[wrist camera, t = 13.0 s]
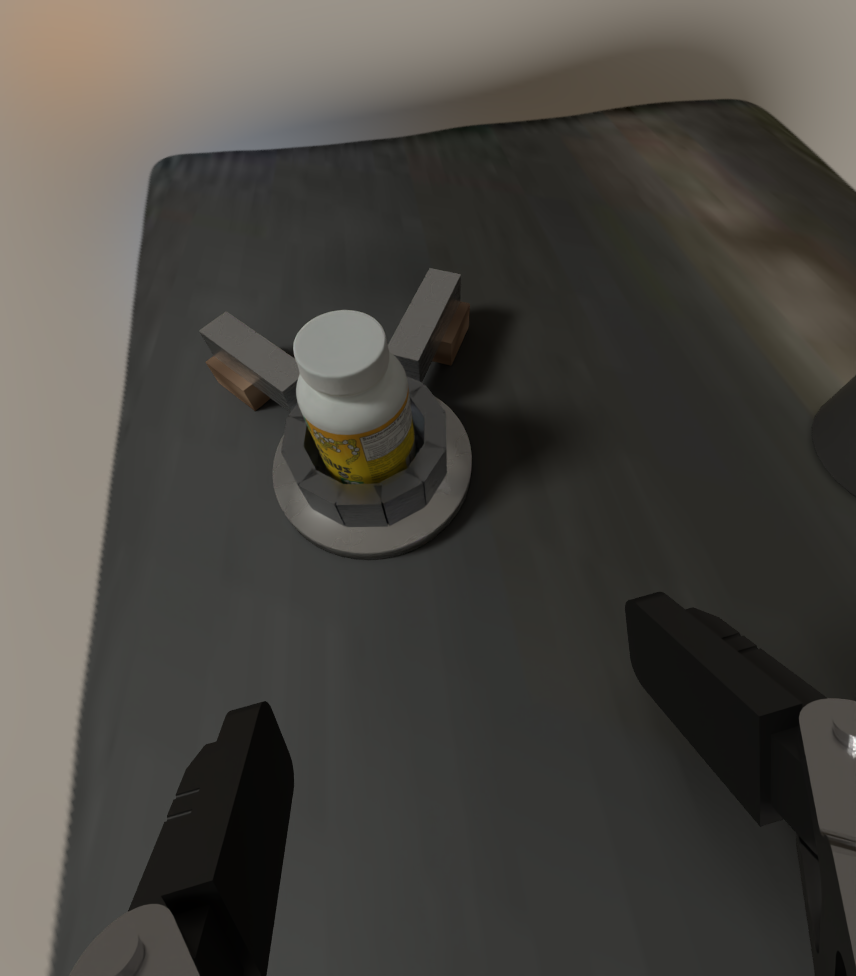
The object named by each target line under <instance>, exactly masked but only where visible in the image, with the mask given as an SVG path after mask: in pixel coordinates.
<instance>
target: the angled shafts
mask: <svg viewBox="0 0 856 976" xmlns="http://www.w3.org/2000/svg"><path fill="white" fill-rule="evenodd" d="M460 293H461V274H456V273H451V272H446V271H441V270H437V269H432V268H430V269H429V270H428V272H427V274H426V276H425V278H424V280H423V282H422V283H421V285H420V287H419V289H418V291H417V293H416V294H415V296H414V298H413V300H412V302H411V304H410V305H409V307H408V309H407V311H406V313H405V315H404V317H403V318H402V320H401V322H400V324H399V326H398V328H397V329H396V331H395V333H394V335H393V337H392V339H391V340H390V342H389V344H388V349H389V352H391V353H392V354H393V355H394V356H395V357H396V358H397V359H398V360H399V362H400V363H401V365H402V366H403V368H404V370H405V373H406V376H408V377H410V378H412V379H415V380H417V381H419V382H422V381H423V379H424V377H425V375H426V373H427V371H428V368H429V366H430V364H431V362H432V360H433V358H434V356H435V354H436V352H437V350H438V347H439V345H440V343H441V341H442V339H443V337H444V335H445V333H446V331H447V329H448V326H449V324H450V322H451V320H452V318H453V316H454V314H455V312H456V310H457V308H458V305H459V303H460ZM199 332H200V334H201V335H202V337H203V339H204V340H205V342H206V344H207V345H208V347H209V349H210V350H211V352H212V354H213V355H214V356H215V357H216V358H217V359H219V360H220V361H221V362H223V363H224V364H225V365H227V366H228V367H229V368H231V369H232V370H233V371H235V372H236V373H237V374H239V375H240V376H241V377H243V378H244V379H245V380H247V381H248V382H249V383H251V384H252V385H253V386H255V387H256V388H257V389H259V390H260V391H261V392H263V393H264V394H265V395H267V396H268V397H269V398H271V399H272V400H273V401H275V402H276V403H277V404H279V405H280V406H281V407H283V408H284V409H285V410H287V411H288V412H289V413H290V412H291V411H292V410H293V409H294V408H295V406H296V405H297V404H298V402H297V396H296V386H297V381H298V377H299V375H300V372H299V368H298V365H297V362H296V360H295V359H294V358H293V357H291V356H290V355H289V354H287V353H286V352H284V351H283V350H281V349H280V348H278V347H277V346H276V345H274V344H273V343H271V342H270V341H268V340H267V339H265V338H264V337H262V336H261V335H260V334H258V333H257V332H255V331H254V330H252V329H251V328H249V327H248V326H246V325H245V324H244V323H242V322H241V321H239V320H238V319H236V318H235V317H233V316H232V315H231V314H229V313H228V312H225V313H223V314H222V315H220V316H219V317H218V318H216V319H215V320H213V321H212V322H211V323H209V324H208V325H206V326H205V327H204V328H202V329H201V330H199Z"/></svg>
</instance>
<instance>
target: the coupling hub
mask: <svg viewBox="0 0 856 976" xmlns="http://www.w3.org/2000/svg"><path fill="white" fill-rule="evenodd" d="M406 377H407V382H408V388H409V396H410V404H411V412H412V420H413V428H414V435H415V444H416V456H415V458H414V459H413V461H412V462H411V464H410V465H409V466H408V468H407V469H405V470H403V471H401V472H399V473H397V474H395V475H393V476H391V477H389V478H387V479H385V480H383V481H381V482H380V483H378V484H342V483H340V482H338V481H336V480H334V479H332V478H331V477H330V475H329V473H328V471H327V468H326V466H325V464H324V462H323V459H322V457H321V455H320V453H319V450H318V448H317V446H316V444H315V441H314V439H313V437H312V435H311V433H310V431H309V428H308V426H307V424H306V421H305V419H304V417H303V415H302V412H301V410H300V408H299V405H298V404H297V405H296V406H295V408H294V409H293V410H292V411H291V412H290V413H289V414H288V417H287V420H286V426H285V431H284V435H283V437H282V438H281V441H280V443H279V445H278V448H277V450H276V454H275V458H274V464H273V484H274V489H275V494H276V497H277V499H278V502H279V504H280V506H281V508H282V510H283V511H284V513H285V515H286V516H287V518H288V519H289V520H290V522H291V523H292V525H293V526H294V527H295V528H296V529H297V531H298V532H299V533H300V534H301V535H302V536H303V537H304V538H306V539H307V540H308V541H309V542H311V543H312V544H314V545H315V546H317V547H318V548H320V549H323V550H325V551H327V552H329V553H332V554H335V555H338V556H341V557H346V558H351V559H360V560H375V559H385V558H390V557H395V556H398V555H401V554H404V553H407V552H410V551H412V550H414V549H417V548H419V547H421V546H423V545H424V544H426V543H427V542H429V541H430V540H432V539H434V538H435V537H436V536H437V535H438V534H440V533H441V532H442V531H443V530H444V529H445V528H446V527H447V526H448V525H449V524H450V523H451V522H452V520H453V519H454V518H455V516H456V515H457V513H458V512H459V510H460V508H461V507H462V505H463V503H464V501H465V498H466V495H467V492H468V489H469V484H470V479H471V464H472V455H471V447H470V443H469V439H468V435H467V433H466V431H465V429H464V427H463V425H462V423H461V422H460V420H459V419H458V417H457V416H456V415H455V413H454V412H453V411H452V410H451V409H450V408H449V407H448V406H447V405H446V404H445V403H443V402H442V401H441V400H439V399H438V398H436V397H435V396H433V394H432V393H431V392H430V390H429V389H428V388H427V386H426V385H424V383H422V382H419V381H417V380H415V379H412V378H410V377H408V376H406Z"/></svg>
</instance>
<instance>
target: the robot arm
mask: <svg viewBox="0 0 856 976" xmlns="http://www.w3.org/2000/svg"><path fill="white" fill-rule="evenodd" d="M812 440H813V443H814V447H815V450H816V453H817V455H818V457H819V458H820V460H821V462H822V463H823V465H824V467H825V468H826V469H827V470H828V472H829V473H830V474H831V475H832V476H833V478H834V479H835V480H836V481H837V482H838V483H840V484H841V485H842V486H843V487H844V488H845V489H847V490H848V491H849V492H850V493H851V494H853V495H855V496H856V375H855V376H854V377H853V378H852V379H851V380H850V381H849V382H848V383H847V384H846V385H845V386H844V387H842V388H841V389H840V390H839V391H838V392H837V393H836V394H835V395H834V396H833V397H832V398H831V399H829V400H828V401H827V402H826V403H825V404H824V405H823V406H822V407H821V408H820V410H819V411H818V413H817V414H816V415H815V418H814V421H813V425H812ZM625 613H626V623H627V632H628V641H629V650H630V659H631V663H632V667H633V669H634V672H635V674H636V676H637V678H638V680H639V682H640V684H641V685H642V686H643V688H644V689H645V690H646V691H647V693H648V694H649V695H650V696H651V697H652V699H653V700H654V701H655V702H656V703H657V705H658V706H659V707H660V708H661V709H662V710H663V712H664V713H665V714H666V715H667V716H668V718H669V719H670V720H671V721H672V722H673V724H674V725H675V726H676V727H677V728H678V729H679V731H680V732H681V733H682V734H683V735H684V737H685V738H686V739H687V740H688V741H689V743H690V744H691V745H692V746H693V747H694V748H695V750H696V751H697V752H698V753H699V754H700V756H701V757H702V758H703V759H704V760H705V762H706V763H707V764H708V765H709V766H710V767H711V769H712V770H713V771H714V772H715V773H716V775H717V776H718V777H719V778H720V779H721V781H722V782H723V783H724V784H725V785H726V786H727V788H728V789H729V790H730V791H731V792H732V794H733V795H734V796H735V797H736V798H737V800H738V801H739V802H740V803H741V804H742V805H743V807H744V808H745V809H746V810H747V811H748V813H749V814H750V815H751V816H752V817H753V819H754V820H755V821H756V822H757V823H758V824H759V826H760V827H761V826H764V825H767V824H770V823H773V822H776V821H779V820H782V819H784V820H785V821H786V822H787V823H788V824H789V825H790V826H791V827H792V829H793V830H794V831H795V832H796V847H797V854H798V861H799V868H800V874H801V881H802V888H803V895H804V902H805V909H806V916H807V923H808V930H809V937H810V944H811V951H812V957H813V965H814V973H815V976H856V701H852V700H847V699H832V698H826V697H825V696H824V695H822V694H821V693H820V692H818V691H817V690H816V689H814V688H813V687H812V686H810V685H809V684H808V683H806V682H805V681H804V680H802V679H801V678H800V677H798V676H797V675H796V674H794V673H793V672H792V671H790V670H789V669H788V668H786V667H785V666H783V665H782V664H781V663H779V662H778V661H777V660H775V659H774V658H773V657H771V656H770V655H769V654H767V653H766V652H765V651H763V650H762V649H758V648H757V646H756V645H755V644H754V643H753V642H751V641H750V640H749V639H747V638H746V637H745V636H741V635H740V634H739V632H738V631H736V630H735V629H734V628H732V627H731V626H730V625H728V624H727V623H726V622H724V621H723V620H722V619H720V618H719V617H716V616H714V615H711V614H709V613H706V612H704V611H701V610H699V609H696V608H689V609H686V610H685V609H684V608H683V607H681V606H680V605H679V604H678V603H676V602H675V601H674V600H672V599H671V598H670V597H669V596H667V595H666V594H665V593H663V592H657V593H653V594H650V595H646V596H642V597H639V598H635V599H632V600H628V601H627V602H626V605H625ZM293 790H294V772H293V765H292V760H291V757H290V754H289V751H288V749H287V746H286V744H285V741H284V739H283V736H282V734H281V731H280V729H279V726H278V724H277V721H276V718H275V716H274V713H273V711H272V709H271V706H270V705H269V704H268V702H266V701H264V702H260V703H257V704H253V705H250V706H246V707H242V708H239V709H235V710H232V711H229V712H228V713H227V715H226V717H225V720H224V722H223V725H222V728H221V731H220V733H219V736H218V739H217V742H213V743H210V744H206V745H205V746H204V747H203V748H202V750H201V751H200V752H199V753H198V755H197V756H196V757H195V759H194V760H193V761H192V762H191V764H190V765H189V766H188V767H187V769H186V771H185V773H184V776H183V778H182V781H181V783H180V786H179V788H178V790H177V793H176V799H175V800H173V803H172V805H171V808H170V810H169V812H168V815H167V821H166V822H164V825H163V827H162V830H161V832H160V834H159V837H158V839H157V842H156V844H155V847H154V849H153V852H152V854H151V856H150V859H149V861H148V864H147V866H146V869H145V871H144V874H143V876H142V878H141V881H140V883H139V886H138V888H137V891H136V893H135V896H134V898H133V900H132V903H131V905H130V908H129V910H128V912H127V913H125V914H124V915H122V916H121V917H119V918H118V919H116V920H115V921H114V922H112V923H111V924H110V925H109V926H107V927H106V928H105V929H104V930H103V931H102V932H101V933H100V934H99V935H98V936H97V937H96V938H95V939H94V940H93V941H92V942H91V944H90V945H89V946H88V947H87V949H86V950H85V951H84V952H83V954H82V955H81V957H80V958H79V960H78V961H77V963H76V964H75V966H74V968H73V969H72V971H71V973H70V975H69V976H266V975H267V968H268V961H269V954H270V947H271V940H272V934H273V927H274V920H275V913H276V906H277V899H278V893H279V886H280V879H281V872H282V865H283V859H284V852H285V845H286V838H287V831H288V824H289V818H290V811H291V804H292V797H293Z"/></svg>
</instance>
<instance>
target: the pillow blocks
mask: <svg viewBox="0 0 856 976" xmlns="http://www.w3.org/2000/svg"><path fill="white" fill-rule="evenodd" d="M469 311H470V304H469V303H465V302H460V303H459V305H458V308H457V310H456V312H455V314H454V316H453V318H452V320H451V322H450V324H449V326H448V329H447V331H446V333H445V335H444V337H443V339H442V341H441V343H440V345H439V347H438V350H437V352H436V354H435V356H434V358H433V360H432V361H434V362H438V363H442V364H446V365H450V366H451V365H452V363H453V361H454V359H455V356H456V354H457V352H458V350H459V348H460V345H461V343H462V341H463V339H464V336H465V334H466V332H467V330H468V328H469ZM206 363H207V365H208V367H209V368H210V370H211V371H212V373H213V374H214V376H215V378H216V379H217V381H218V382H219V383H220V384H221V385H222V386H223V387H225V388H226V389H227V390H229V391H230V392H231V393H233V394H234V395H235V396H236V397H238V398H239V399H240V400H242V401H243V402H244V403H245V404H247V405H248V406H249V407H251V408H252V409H253V410H254V411H256V410H257V409H258V408H260V407H261V406H262V405H263V404H265V403H266V402H267V401H268V400H269V399H271V398H269V397H268V396H267V395H265V394H264V393H263V392H261V391H260V390H259V389H257V388H256V387H255V386H253V385H252V384H251V383H249V382H248V381H247V380H245V379H244V378H243V377H241V376H240V375H239V374H237V373H236V372H235V371H233V370H232V369H231V368H229V367H228V366H227V365H225V364H224V363H223V362H221V361H220V360H219V359H217V358H216V357H215V356H213V357H212V358H210V359H209V360H208V361H206Z"/></svg>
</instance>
